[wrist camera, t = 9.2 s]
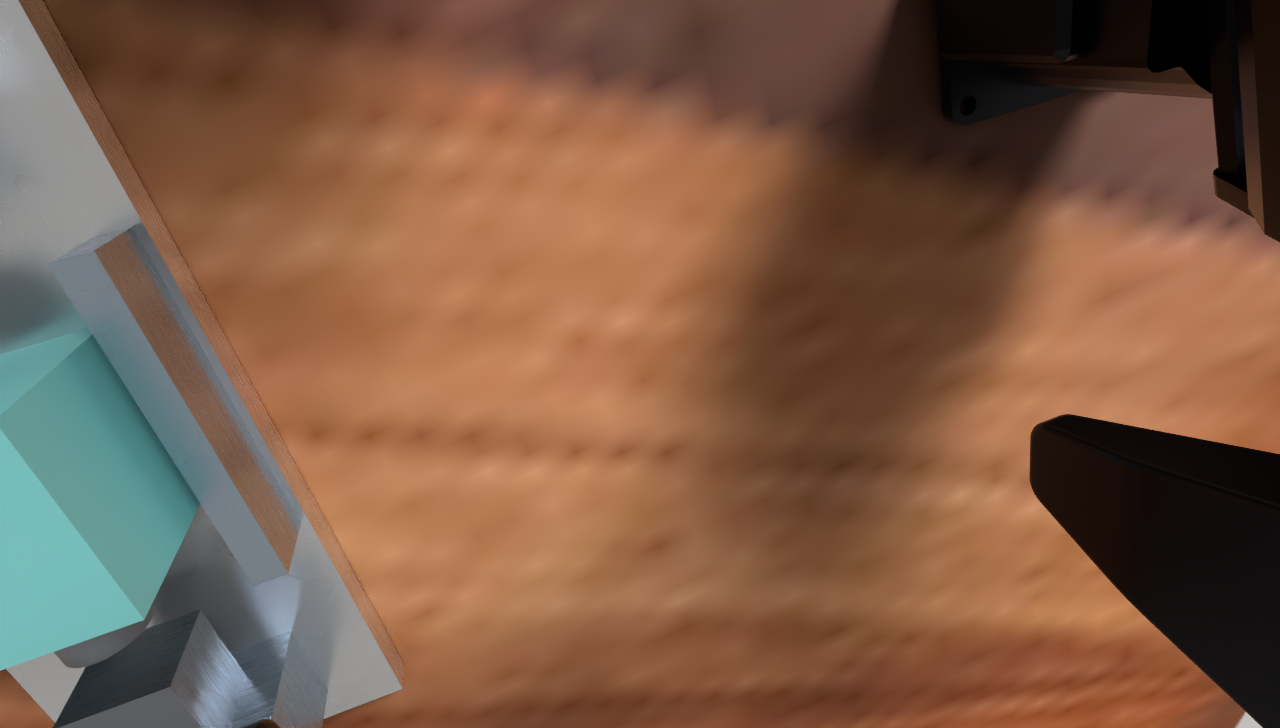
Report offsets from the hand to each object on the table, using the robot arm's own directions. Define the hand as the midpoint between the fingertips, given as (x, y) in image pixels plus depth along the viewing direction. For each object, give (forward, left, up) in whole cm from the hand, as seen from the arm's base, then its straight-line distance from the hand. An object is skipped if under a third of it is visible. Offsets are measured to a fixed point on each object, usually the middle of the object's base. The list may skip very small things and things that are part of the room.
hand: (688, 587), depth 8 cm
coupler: (+11, 0, -11) cm, 16 cm away
